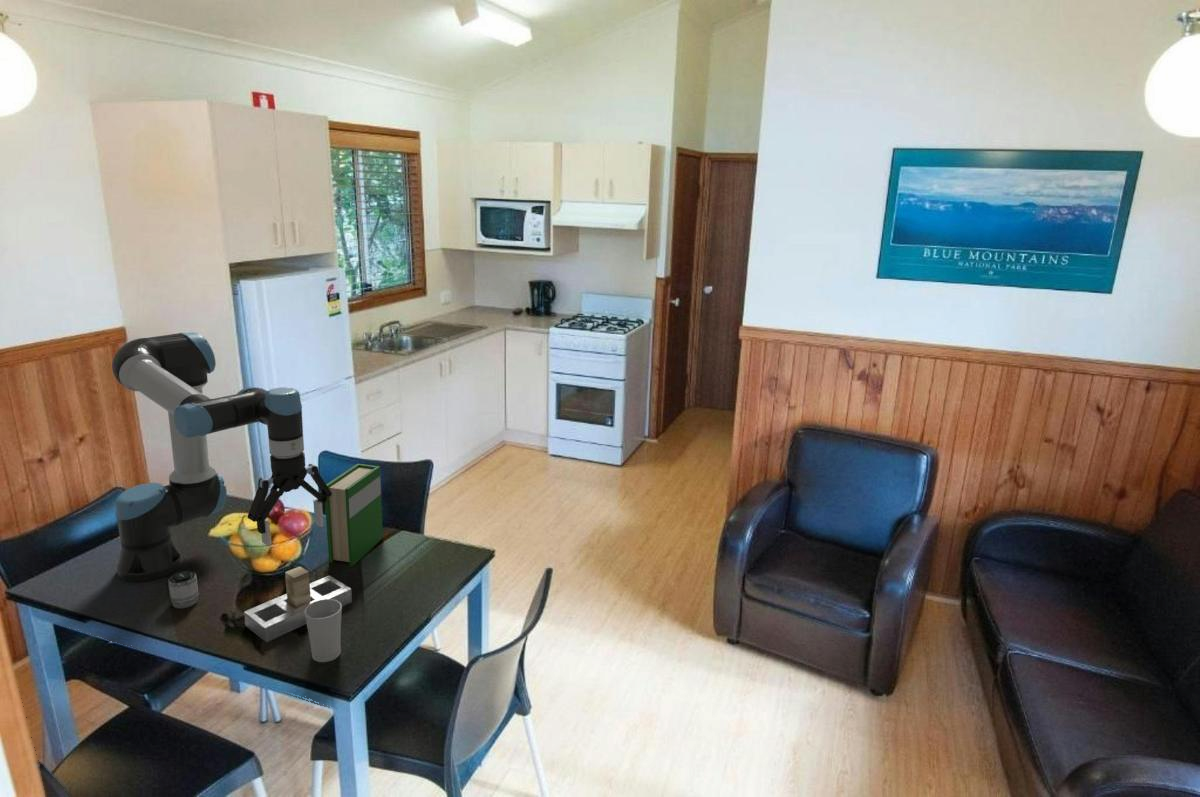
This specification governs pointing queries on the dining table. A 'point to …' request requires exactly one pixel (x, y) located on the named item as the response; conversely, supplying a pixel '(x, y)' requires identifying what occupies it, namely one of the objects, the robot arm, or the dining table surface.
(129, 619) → the dining table surface
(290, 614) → the grey slotted block
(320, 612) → the cup
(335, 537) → the hardback book
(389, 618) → the dining table surface
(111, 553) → the dining table surface
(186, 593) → the camera lens
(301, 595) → the peg
